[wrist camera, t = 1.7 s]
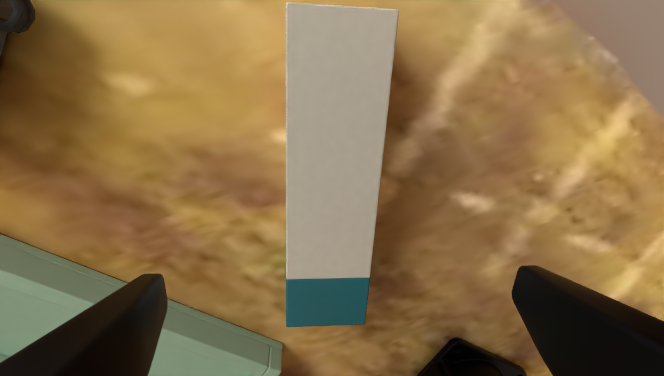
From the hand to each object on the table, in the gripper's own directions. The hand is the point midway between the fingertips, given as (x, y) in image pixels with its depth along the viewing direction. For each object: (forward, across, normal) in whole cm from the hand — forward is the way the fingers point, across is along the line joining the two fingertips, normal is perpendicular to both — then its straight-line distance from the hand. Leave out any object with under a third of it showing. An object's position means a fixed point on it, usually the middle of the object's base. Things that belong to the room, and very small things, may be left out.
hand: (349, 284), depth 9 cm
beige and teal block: (+9, 0, 0) cm, 9 cm away
